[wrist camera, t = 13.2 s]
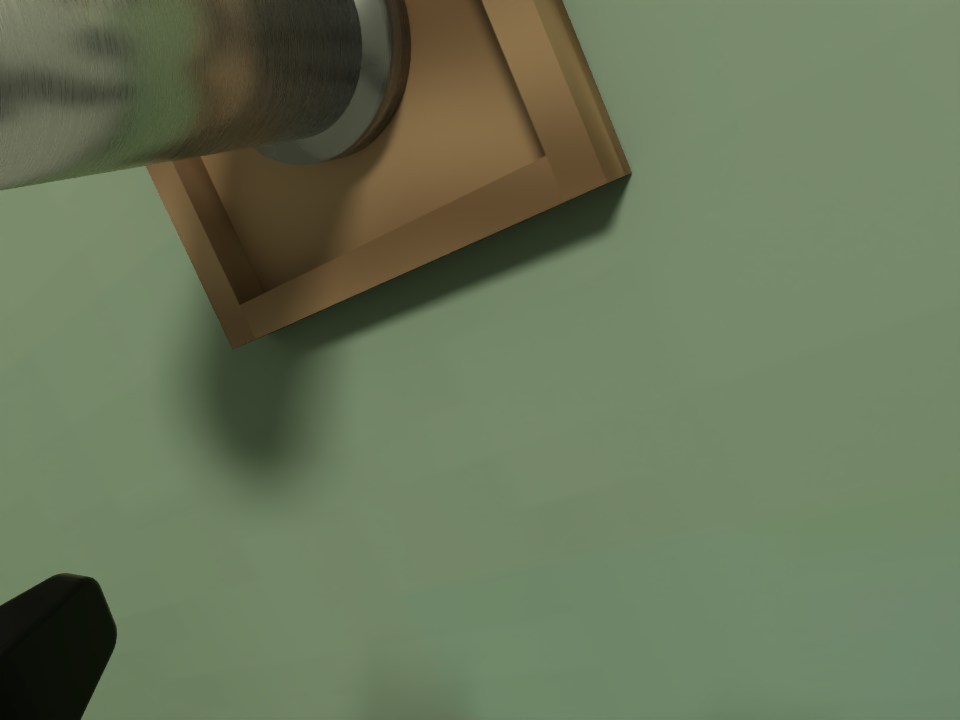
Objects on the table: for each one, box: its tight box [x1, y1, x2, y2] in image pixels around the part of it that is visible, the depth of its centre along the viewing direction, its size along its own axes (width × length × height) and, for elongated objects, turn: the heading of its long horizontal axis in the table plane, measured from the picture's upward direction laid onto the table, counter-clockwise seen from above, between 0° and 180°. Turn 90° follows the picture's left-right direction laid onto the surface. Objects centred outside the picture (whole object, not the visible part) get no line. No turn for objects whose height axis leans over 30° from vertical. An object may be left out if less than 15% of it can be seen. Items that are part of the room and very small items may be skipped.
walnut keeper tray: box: [146, 0, 632, 349], centre depth 20 cm, size 12×12×1 cm
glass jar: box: [0, 0, 411, 190], centre depth 16 cm, size 6×6×11 cm
